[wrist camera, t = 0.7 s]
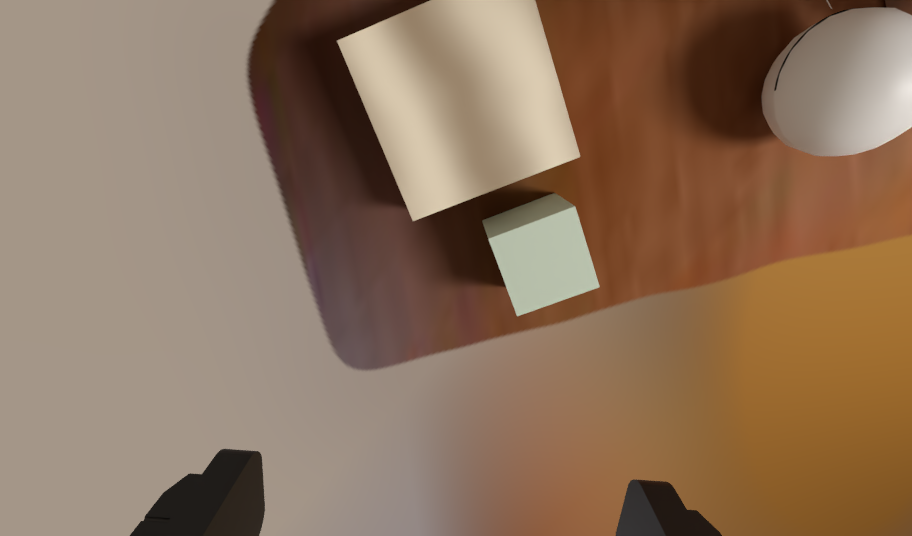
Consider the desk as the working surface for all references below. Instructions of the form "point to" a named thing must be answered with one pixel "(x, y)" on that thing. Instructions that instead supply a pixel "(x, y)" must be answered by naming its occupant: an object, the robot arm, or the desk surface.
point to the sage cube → (541, 253)
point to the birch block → (461, 98)
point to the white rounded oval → (843, 83)
